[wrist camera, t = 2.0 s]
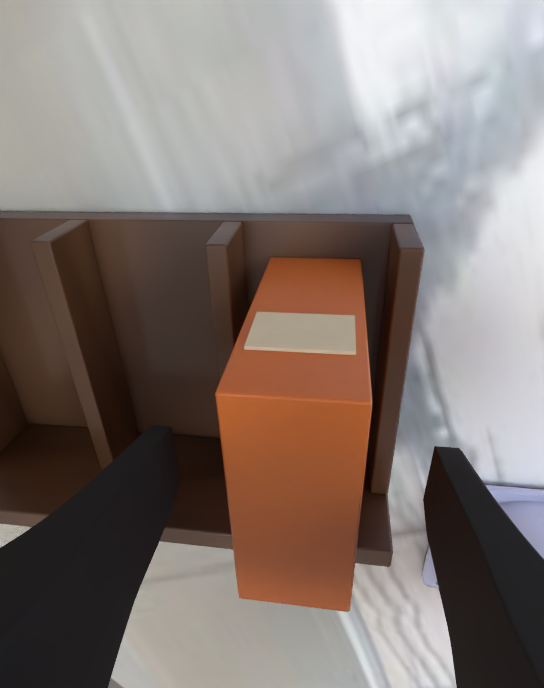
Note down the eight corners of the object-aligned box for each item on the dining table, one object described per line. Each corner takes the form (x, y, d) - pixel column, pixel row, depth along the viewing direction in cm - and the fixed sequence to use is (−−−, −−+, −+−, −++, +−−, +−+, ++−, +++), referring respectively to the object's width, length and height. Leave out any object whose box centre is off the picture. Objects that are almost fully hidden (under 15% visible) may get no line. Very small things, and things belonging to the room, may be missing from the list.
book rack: (410, 214, 16) (441, 284, 10) (380, 449, 21) (390, 568, 16) (-50, 210, 18) (-207, 265, 13) (33, 422, 24) (-53, 518, 19)
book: (361, 255, 16) (373, 398, 9) (348, 424, 19) (349, 613, 13) (269, 253, 16) (213, 388, 9) (275, 419, 20) (238, 599, 13)
